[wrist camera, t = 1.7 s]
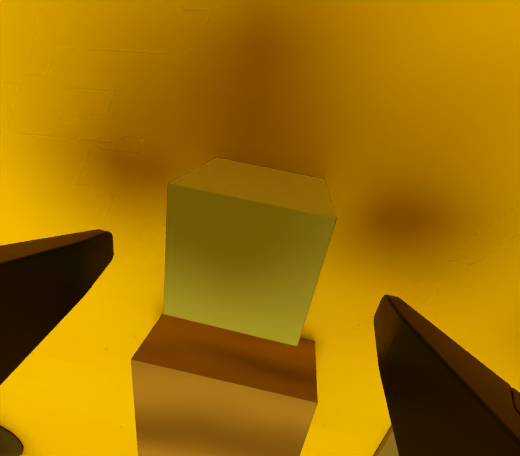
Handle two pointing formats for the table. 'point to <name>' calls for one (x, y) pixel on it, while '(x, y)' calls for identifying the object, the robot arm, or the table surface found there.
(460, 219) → the table surface
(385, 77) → the table surface
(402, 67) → the table surface
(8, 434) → the sundae
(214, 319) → the sage cube
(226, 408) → the walnut block
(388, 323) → the robot arm
